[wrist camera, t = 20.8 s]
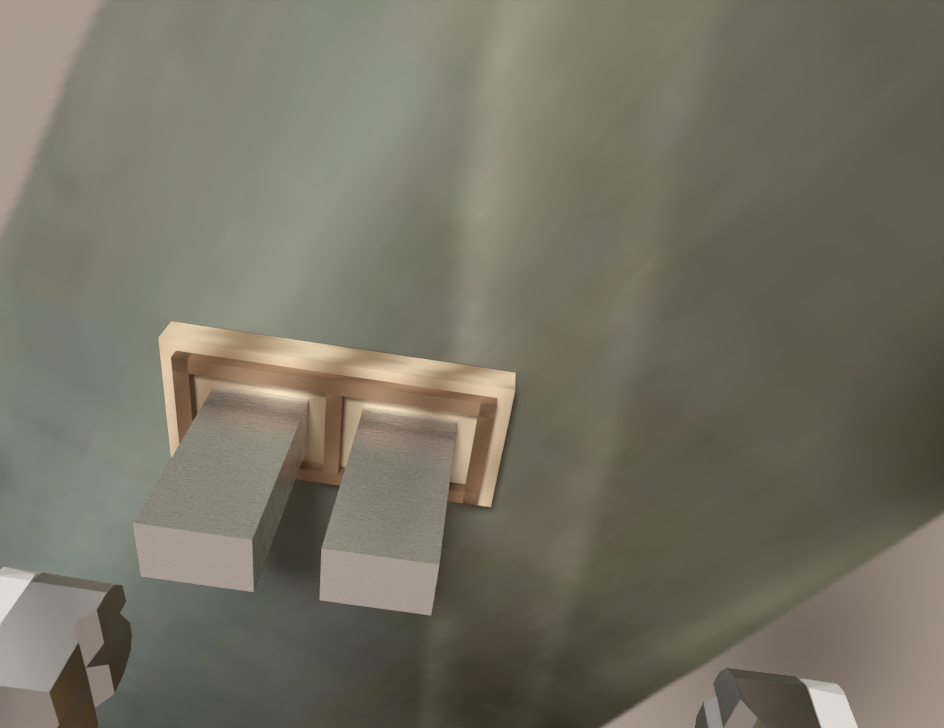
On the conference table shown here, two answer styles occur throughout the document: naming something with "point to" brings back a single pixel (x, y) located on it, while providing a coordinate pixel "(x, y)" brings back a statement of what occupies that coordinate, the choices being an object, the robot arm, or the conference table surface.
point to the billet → (224, 490)
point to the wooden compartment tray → (342, 396)
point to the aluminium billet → (390, 513)
